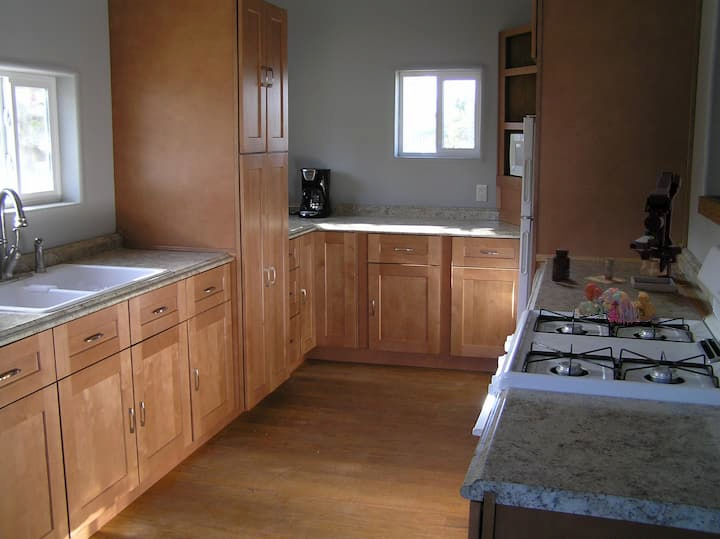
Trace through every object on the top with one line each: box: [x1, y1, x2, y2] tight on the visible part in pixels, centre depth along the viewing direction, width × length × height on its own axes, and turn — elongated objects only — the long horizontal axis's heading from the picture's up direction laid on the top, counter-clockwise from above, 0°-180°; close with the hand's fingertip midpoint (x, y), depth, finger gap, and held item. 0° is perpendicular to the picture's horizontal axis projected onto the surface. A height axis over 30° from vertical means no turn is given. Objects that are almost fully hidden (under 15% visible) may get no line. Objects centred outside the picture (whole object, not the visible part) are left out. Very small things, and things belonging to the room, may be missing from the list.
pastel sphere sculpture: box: [573, 283, 659, 326], centre depth 242 cm, size 25×24×9 cm
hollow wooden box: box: [639, 258, 667, 277], centre depth 286 cm, size 6×8×5 cm
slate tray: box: [630, 276, 677, 293], centre depth 286 cm, size 14×14×2 cm
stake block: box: [582, 257, 629, 284], centre depth 297 cm, size 12×12×9 cm
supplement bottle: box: [551, 248, 572, 283], centre depth 297 cm, size 7×7×12 cm
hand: (653, 270), depth 285 cm, fingers closed on hollow wooden box, 6 cm apart
